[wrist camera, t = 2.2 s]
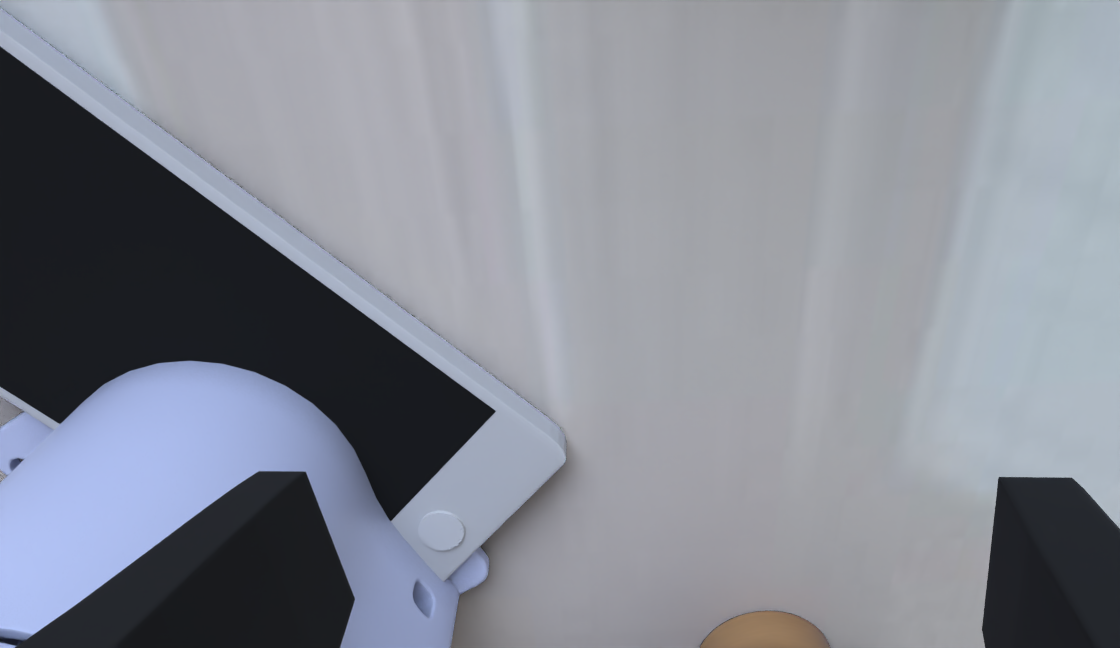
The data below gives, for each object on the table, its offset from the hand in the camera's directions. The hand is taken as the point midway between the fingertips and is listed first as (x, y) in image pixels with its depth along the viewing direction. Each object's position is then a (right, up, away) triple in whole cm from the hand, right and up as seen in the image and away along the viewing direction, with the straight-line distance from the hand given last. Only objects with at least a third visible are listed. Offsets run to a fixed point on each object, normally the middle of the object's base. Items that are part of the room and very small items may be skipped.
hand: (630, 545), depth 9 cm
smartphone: (-9, +2, +10) cm, 14 cm away
